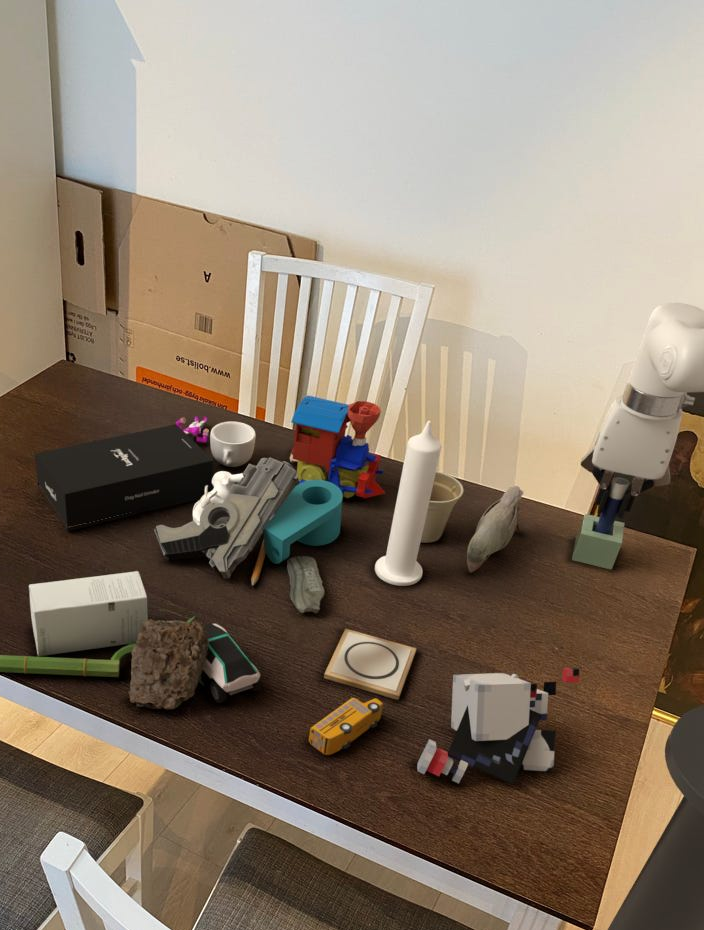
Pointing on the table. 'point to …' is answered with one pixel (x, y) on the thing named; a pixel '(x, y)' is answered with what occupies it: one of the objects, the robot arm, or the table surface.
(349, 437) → the toy train
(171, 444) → the box
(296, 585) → the stone
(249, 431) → the teacup
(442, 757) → the toy
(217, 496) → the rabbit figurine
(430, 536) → the flower pot
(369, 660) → the framed picture
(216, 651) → the toy car
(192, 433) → the character figurine
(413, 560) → the candle
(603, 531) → the marker
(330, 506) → the teal mechanical bracket
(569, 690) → the table surface
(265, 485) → the toy gun
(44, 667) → the decorative plant
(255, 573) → the pencil
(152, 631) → the concrete sample
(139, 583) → the cosmetic box
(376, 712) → the toy bus
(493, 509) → the decorative bird
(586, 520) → the pen stand
